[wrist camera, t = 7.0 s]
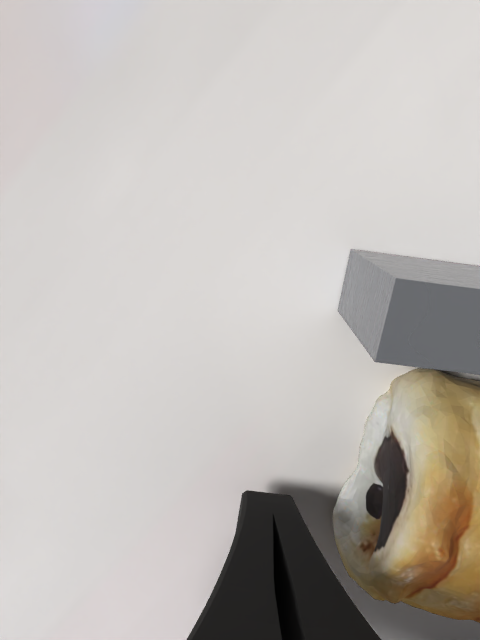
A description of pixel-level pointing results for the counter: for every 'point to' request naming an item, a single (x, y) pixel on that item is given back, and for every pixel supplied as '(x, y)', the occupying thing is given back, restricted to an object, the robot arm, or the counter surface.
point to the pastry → (417, 497)
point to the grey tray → (414, 310)
